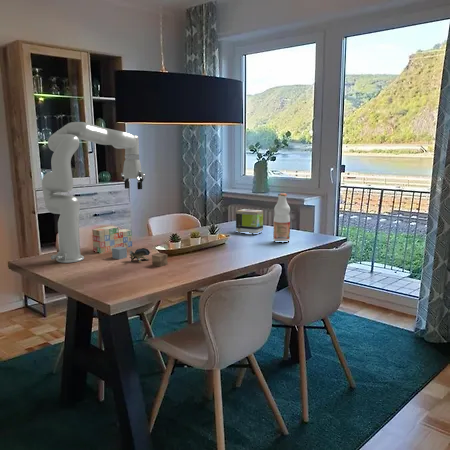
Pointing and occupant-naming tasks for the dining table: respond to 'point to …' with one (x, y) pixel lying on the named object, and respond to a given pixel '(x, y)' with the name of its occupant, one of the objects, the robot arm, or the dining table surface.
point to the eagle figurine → (139, 254)
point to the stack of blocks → (110, 238)
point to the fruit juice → (281, 219)
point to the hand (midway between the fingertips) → (133, 188)
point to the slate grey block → (119, 252)
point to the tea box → (249, 221)
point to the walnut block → (159, 259)
